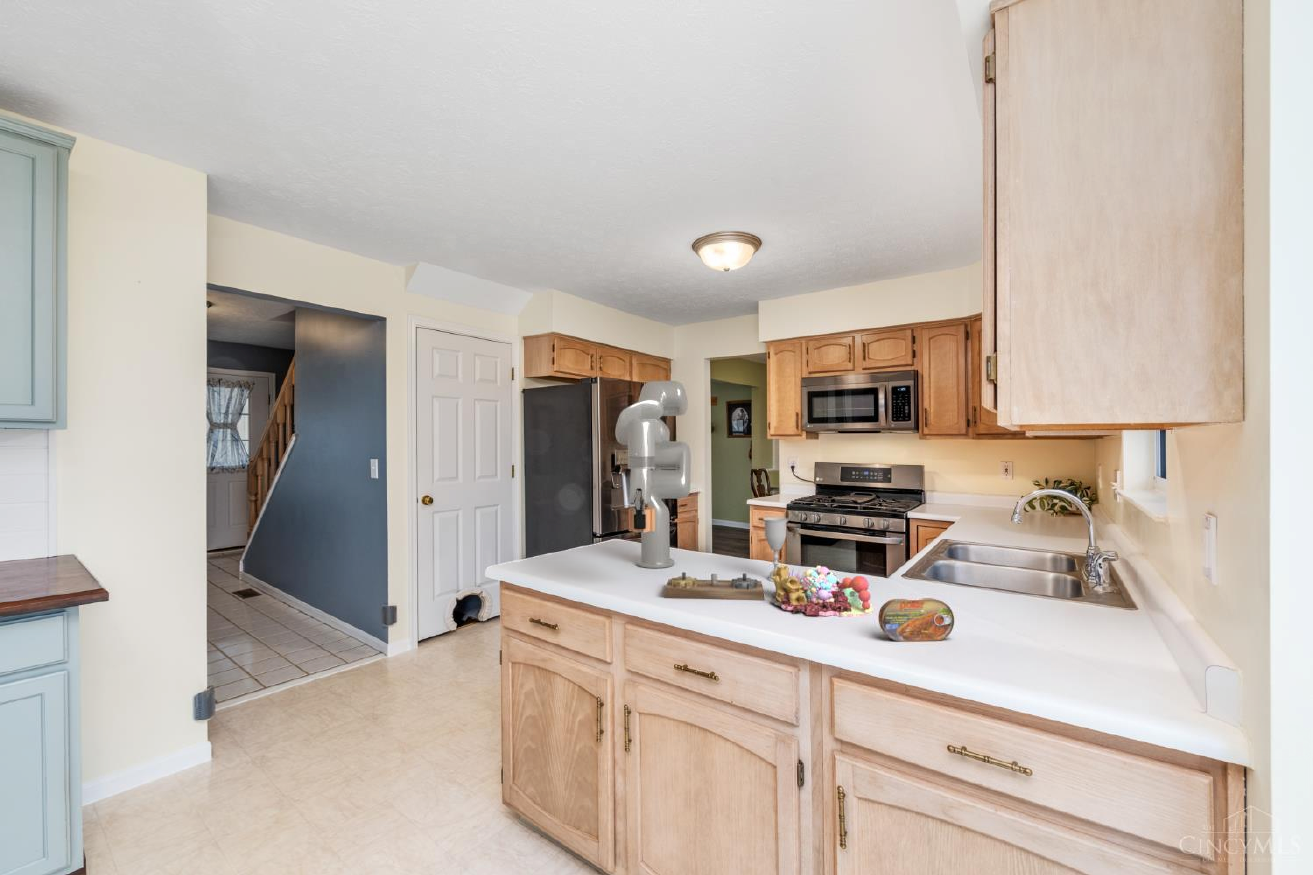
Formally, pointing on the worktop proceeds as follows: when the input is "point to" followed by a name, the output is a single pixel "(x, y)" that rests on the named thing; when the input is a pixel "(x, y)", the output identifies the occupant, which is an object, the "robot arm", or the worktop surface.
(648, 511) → the gear
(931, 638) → the tin
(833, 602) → the coral reef model
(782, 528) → the chalice
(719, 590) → the gear board
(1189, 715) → the worktop surface
